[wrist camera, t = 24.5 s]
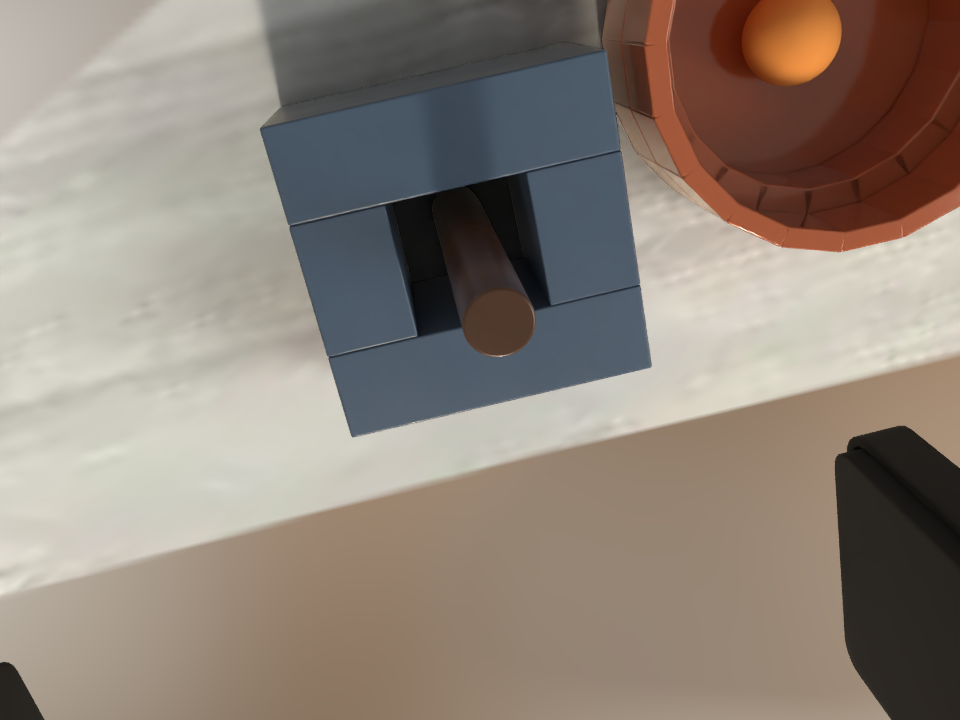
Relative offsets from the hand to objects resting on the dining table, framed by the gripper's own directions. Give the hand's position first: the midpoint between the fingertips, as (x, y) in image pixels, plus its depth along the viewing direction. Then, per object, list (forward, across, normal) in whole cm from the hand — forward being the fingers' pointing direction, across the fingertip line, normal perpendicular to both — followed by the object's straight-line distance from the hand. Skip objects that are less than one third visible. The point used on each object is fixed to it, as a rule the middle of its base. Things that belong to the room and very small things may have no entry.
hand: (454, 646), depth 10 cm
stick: (+25, -2, +1) cm, 25 cm away
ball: (+22, -14, -2) cm, 27 cm away
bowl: (+25, -15, -3) cm, 29 cm away
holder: (+25, -2, +1) cm, 25 cm away
